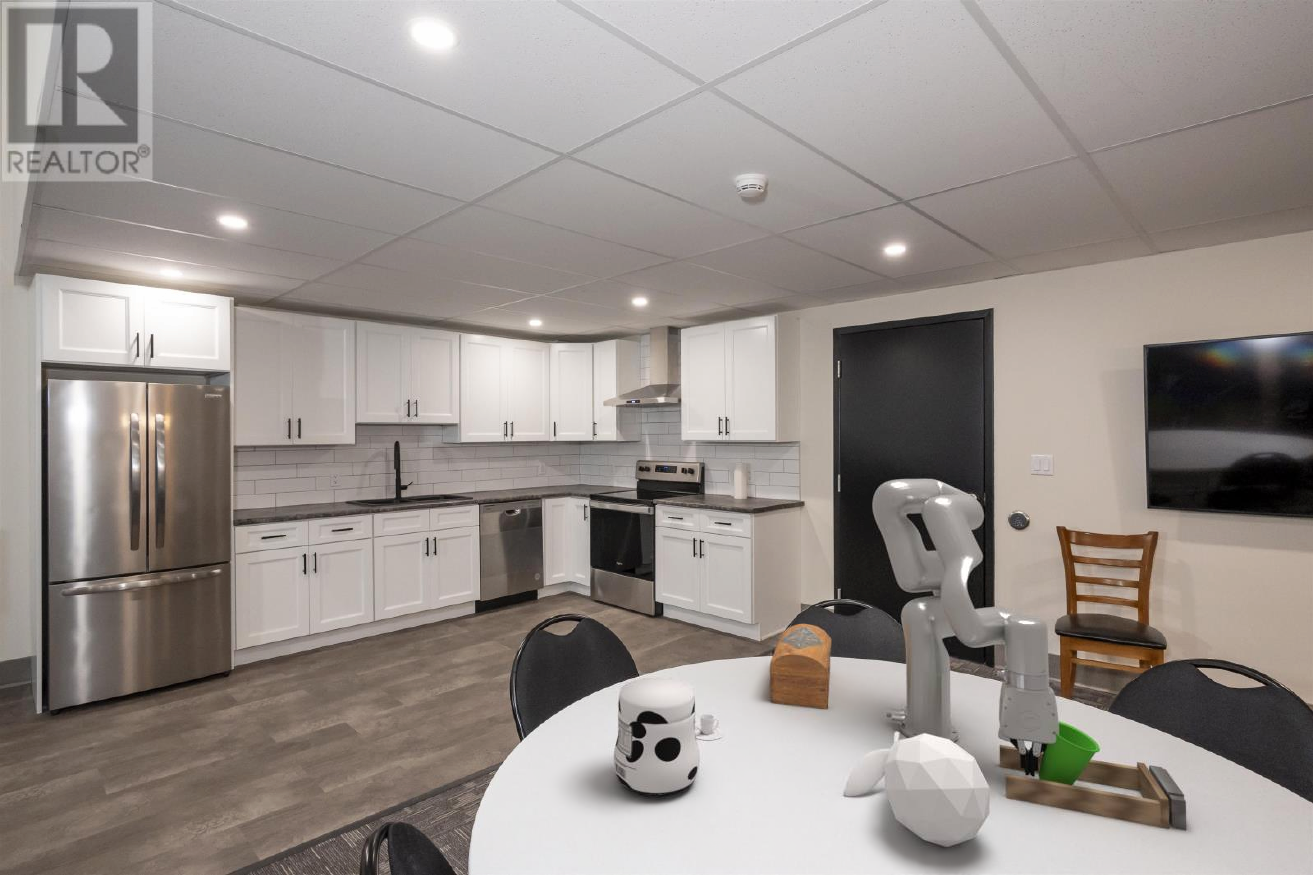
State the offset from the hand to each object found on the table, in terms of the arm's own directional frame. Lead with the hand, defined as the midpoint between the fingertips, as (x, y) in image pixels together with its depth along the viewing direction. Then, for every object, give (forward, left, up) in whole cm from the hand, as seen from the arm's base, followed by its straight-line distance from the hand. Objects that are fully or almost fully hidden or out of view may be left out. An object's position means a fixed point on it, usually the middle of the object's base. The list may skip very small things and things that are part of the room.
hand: (1029, 772), depth 127 cm
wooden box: (-52, +36, -3) cm, 63 cm away
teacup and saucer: (-69, -1, -3) cm, 69 cm away
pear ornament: (-21, -21, -3) cm, 30 cm away
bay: (+9, +1, -3) cm, 10 cm away
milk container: (-69, -27, -3) cm, 74 cm away
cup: (+4, +1, -2) cm, 4 cm away
